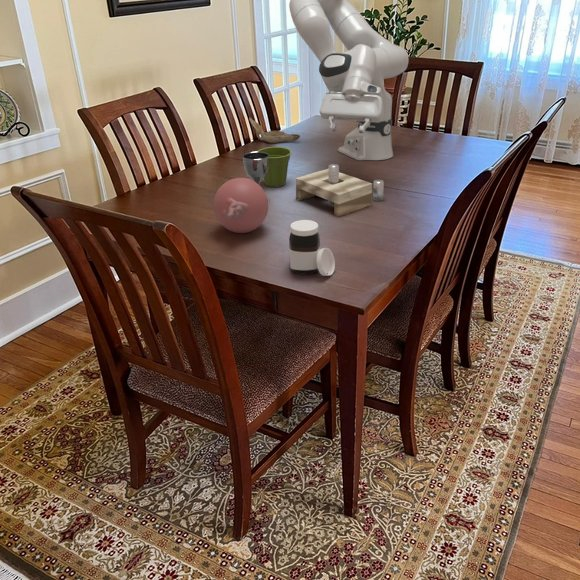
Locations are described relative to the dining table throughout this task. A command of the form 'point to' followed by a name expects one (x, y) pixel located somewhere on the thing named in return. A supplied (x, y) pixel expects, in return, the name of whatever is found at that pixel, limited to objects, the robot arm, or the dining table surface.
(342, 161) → the dining table surface
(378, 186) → the short pin
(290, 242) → the spread jar
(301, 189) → the board
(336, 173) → the grey peg
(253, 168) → the wine glass
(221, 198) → the balloon
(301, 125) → the dining table surface
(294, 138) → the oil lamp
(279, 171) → the plant pot
